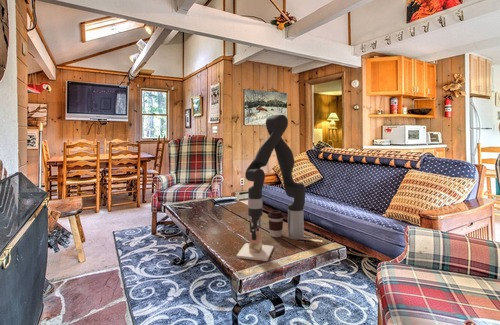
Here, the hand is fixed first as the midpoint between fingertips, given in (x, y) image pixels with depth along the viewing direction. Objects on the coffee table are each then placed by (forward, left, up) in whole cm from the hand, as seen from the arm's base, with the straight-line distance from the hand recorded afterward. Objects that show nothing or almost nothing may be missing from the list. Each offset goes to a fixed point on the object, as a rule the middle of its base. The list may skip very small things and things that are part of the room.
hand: (255, 237), depth 143 cm
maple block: (0, 0, -7) cm, 7 cm away
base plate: (0, 0, -8) cm, 8 cm away
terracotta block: (0, 0, -2) cm, 2 cm away
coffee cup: (-6, -27, -8) cm, 29 cm away
